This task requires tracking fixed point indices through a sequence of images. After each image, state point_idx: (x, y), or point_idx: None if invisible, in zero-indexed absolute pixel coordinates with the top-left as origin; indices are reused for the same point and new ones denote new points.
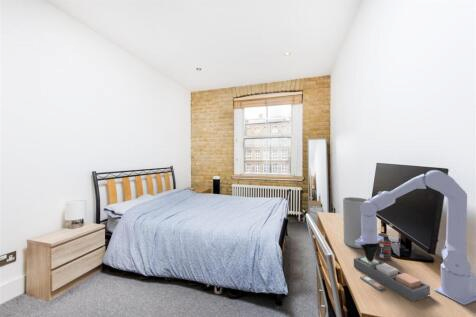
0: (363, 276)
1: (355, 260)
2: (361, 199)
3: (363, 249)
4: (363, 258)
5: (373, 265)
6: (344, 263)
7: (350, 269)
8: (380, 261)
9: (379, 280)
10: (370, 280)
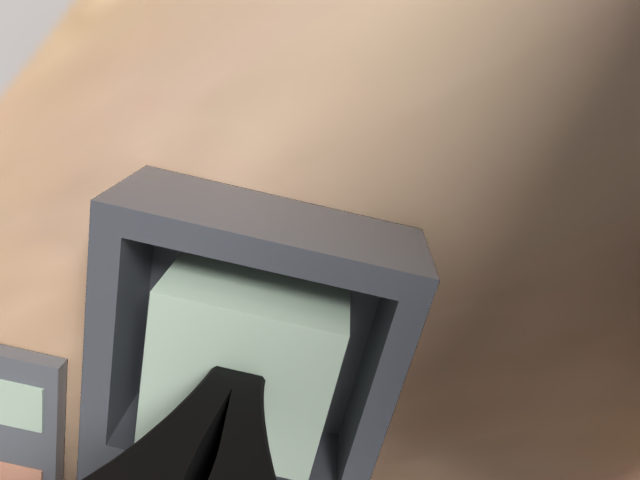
0: (16, 363)
1: (98, 228)
2: None
3: (106, 464)
4: (203, 319)
5: None
6: (87, 37)
7: (33, 184)
8: (373, 460)
9: None
10: (22, 428)
